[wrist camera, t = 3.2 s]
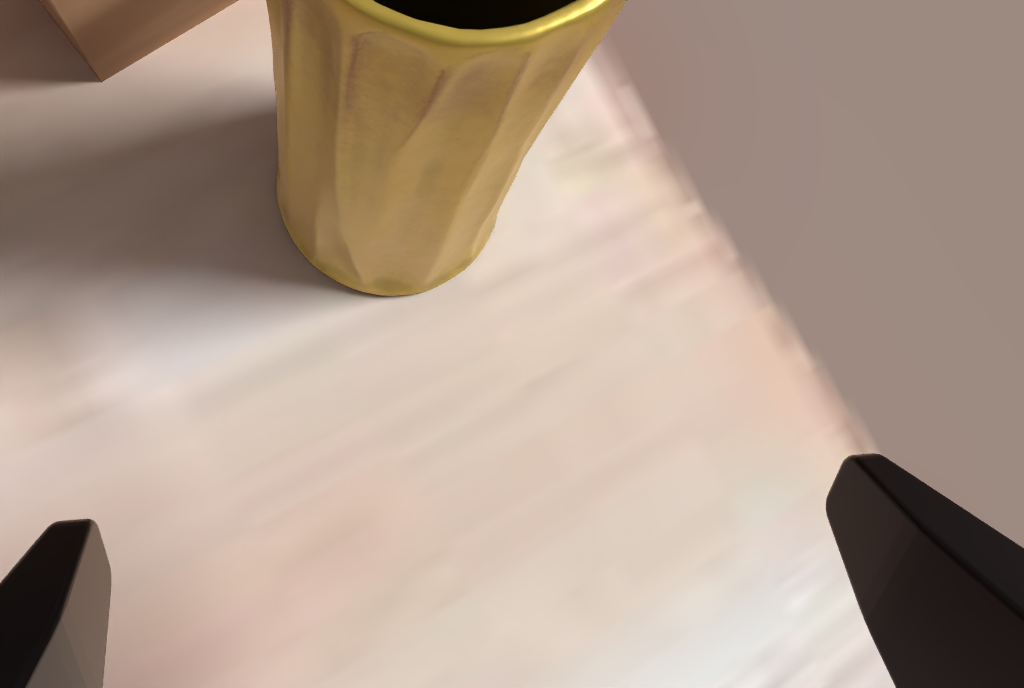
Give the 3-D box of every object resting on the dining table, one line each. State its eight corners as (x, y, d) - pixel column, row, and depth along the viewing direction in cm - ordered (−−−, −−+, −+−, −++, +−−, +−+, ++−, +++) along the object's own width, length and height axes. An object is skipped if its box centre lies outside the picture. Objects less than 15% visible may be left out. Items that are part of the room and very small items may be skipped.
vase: (539, 192, 25) (791, -125, 11) (394, 343, 24) (479, 191, 10) (385, 43, 25) (452, -473, 11) (228, 188, 24) (78, -192, 10)
